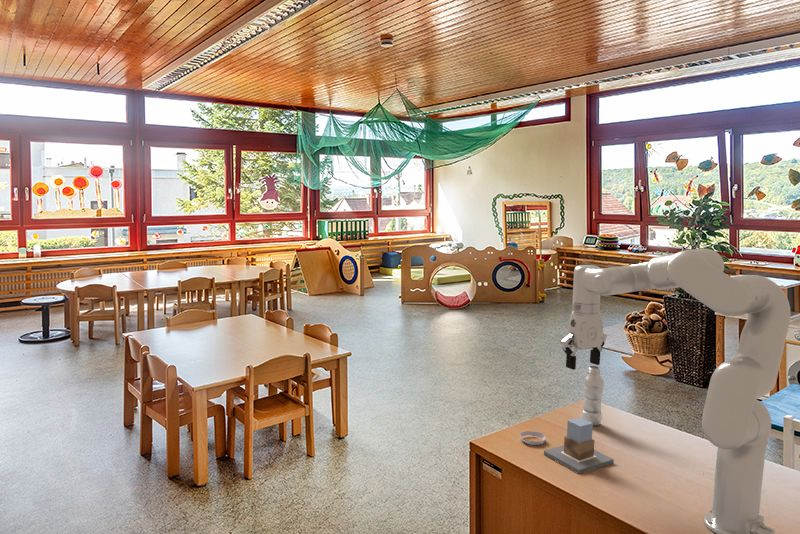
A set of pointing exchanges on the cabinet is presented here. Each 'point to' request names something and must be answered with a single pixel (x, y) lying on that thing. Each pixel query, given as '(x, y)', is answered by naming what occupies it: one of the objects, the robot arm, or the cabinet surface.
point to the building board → (575, 464)
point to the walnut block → (578, 448)
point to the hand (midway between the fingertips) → (582, 366)
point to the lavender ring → (533, 435)
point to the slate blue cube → (579, 430)
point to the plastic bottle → (593, 396)
